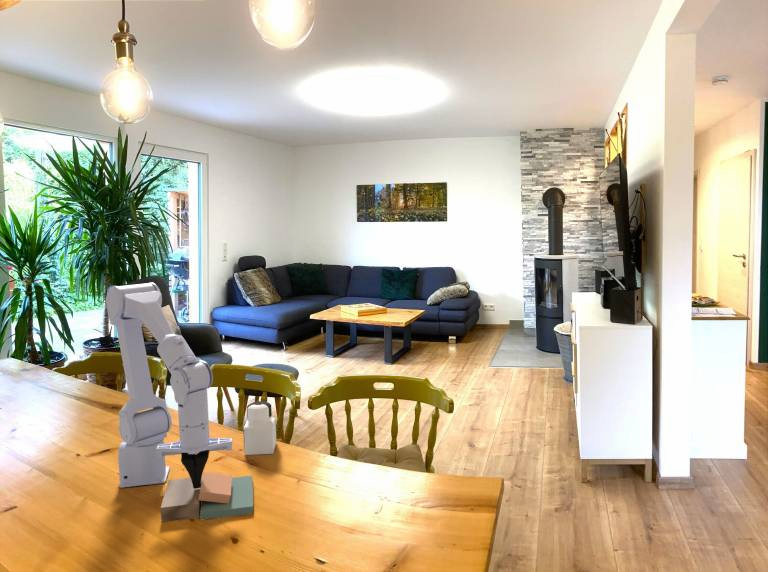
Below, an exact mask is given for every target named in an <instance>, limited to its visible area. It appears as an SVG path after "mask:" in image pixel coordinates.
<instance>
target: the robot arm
mask: <svg viewBox="0 0 768 572" xmlns="http://www.w3.org/2000/svg"><path fill="white" fill-rule="evenodd" d="M105 303H106V311H107V316H108V320H109V324H110V325H111V326H115V328H116V332H117V337H118V343H119V348H120V354H121V360H122V364H123V370H124V376H125V380H126V381H125V382H126V387H127V391H128V397H129V398H128V400H127V401H126V403H125V404H124V405H123V406H122V407H121V409H120V410H119V411H118V420H119V421H118V423H119V424H118V431H119V436H120V438H121V440H122V442H120V444H119V447H118V451H117V452H118V455H117V456H118V458H117V459H118V473H119V486H118V487H119V488H121V489H122V488H131V487H139V486H146V485H147V486H148V485H158V484H164V483H166V482H167V479H168V475H169V473H170V468H171V467H170V465H169V466H167V465H166V457H167V456H175V455H176V456H177V455H181V459H180V462H181V464H182V465H183V466H184V469H185V470H186V471H187V473H188V475H189V478H191V481H192V484H193V488H194V489H195V488H200V487H201V477H202V476H203V472H204V471H205V467H206V464H207V462H208V459H209V456H210V452H214V451H215V452H217V451H224V450H226V451H227V452H228V451H233V437H228V438H226V437H225V438H223V437H222V438H221V437H210V424H209V423H210V420H209V417H210V416H209V403H208V399H209V398H208V389H210V388H211V387H212V385H213V379H214V376H213V371H212V369H211V367H210V365H209V363H208V362H207V361H205V360H202V358H200V357H197V356H195V353H194V352H193V350H192V349H191V348H190V346H189V344H188V343H187V341H186V339H185V338H184V337H183V335H180V334H176V333H175V332H174V330H173V328H172V326H171V324H170V322H169V319H168V318H167V316H166V314H165V312H164V310H163V309H162V305H163V297H162V292H161V289H160V288H159V286H158V285H157V284H156V283H154V282H153V281H152V282H151V281H150V282H148V283H147V282H146V283H138V284H128V285H120V286H119V285H118V286H117V285H112V286H111V287H110V288H109V289H108V291H107V294H106V296H105ZM143 324H144V325H145V327H146V328H147V329H148V331H149V332H150V333H151V334H152V336H153V337H154V339H155V340H156V341H157V343H158V345H157V349H156V351H157V353H158V355H159V356H160V358H161V360H162V362H163V363H164V365H165V367H166V368H167V370H168V371H169V374H171V376H170V379H169V381H170V383H169V384H170V387H171V389H172V391H173V393H174V394H173V395H174V396H173V397H174V401H175V403H176V404H177V412H178V430H179V441H173V442H169V443H165V438H167V437H168V435H167V434H168V432H170V431H171V428H172V424H173V423H172V422H173V420H172V419H173V418H172V416H171V413H170V411H169V408H168V406H167V402H166V400H165V399H163V398H161V397H159V396H157V395H155V394H154V389H153V384H152V378H151V372H150V366H149V361H148V356H147V351H146V345H145V341H144V335H143V329H142V326H143Z"/></svg>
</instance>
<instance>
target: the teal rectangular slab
mask: <svg viewBox="0 0 768 572" xmlns="http://www.w3.org/2000/svg"><path fill="white" fill-rule="evenodd" d="M253 485H254V482H253V475H244V476H235V477H232V484H231V496H230V501H229V504H226V503H218V502H210V501H202V504H201V511H200V517H199V518H200V521H203V520H213V519H221V518H227V517H228V518H229V517H235V516H243V515H252V514H254V487H253Z"/></svg>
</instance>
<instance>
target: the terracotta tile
mask: <svg viewBox="0 0 768 572" xmlns="http://www.w3.org/2000/svg"><path fill="white" fill-rule="evenodd" d="M232 478H233V475H231V474H222V473H215V472H208V471H203V473H202V480H201V487H200V492H199V497H198V500H202V501H210V502H218V503H226V504H229V501H230V496H231V484H232Z"/></svg>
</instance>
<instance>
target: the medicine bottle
mask: <svg viewBox="0 0 768 572" xmlns="http://www.w3.org/2000/svg"><path fill="white" fill-rule="evenodd" d="M272 410H273V409H272V404H271V403H270V402H268V401H265V400H264V401H262V400H258V401H253V402H251V403H249V404H248V405H247V406H246V422H245V424H244V426H243V428H242V429H243V430H242V431H243V449H244V451H243V453H244V455H245V456H257V455H273V454H274V453H275V448H276V445H277V428H276V427H277V426H276V425H277V423H276V417H274V416H272V414H273V413H272Z"/></svg>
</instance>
